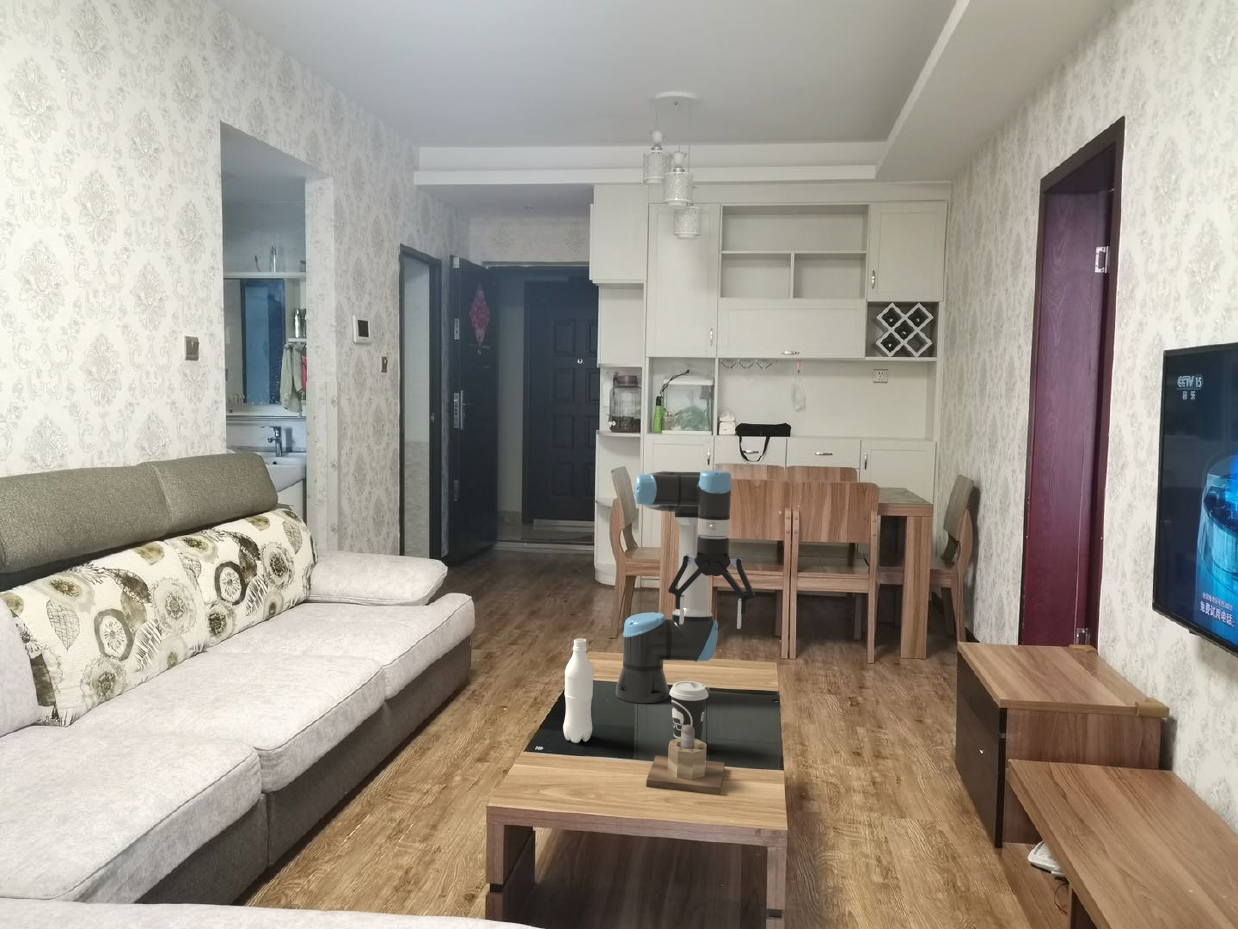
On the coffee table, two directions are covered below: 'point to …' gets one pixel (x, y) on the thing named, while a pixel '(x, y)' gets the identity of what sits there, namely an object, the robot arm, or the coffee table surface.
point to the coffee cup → (688, 706)
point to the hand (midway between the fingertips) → (710, 625)
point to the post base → (702, 784)
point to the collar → (687, 759)
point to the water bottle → (578, 694)
